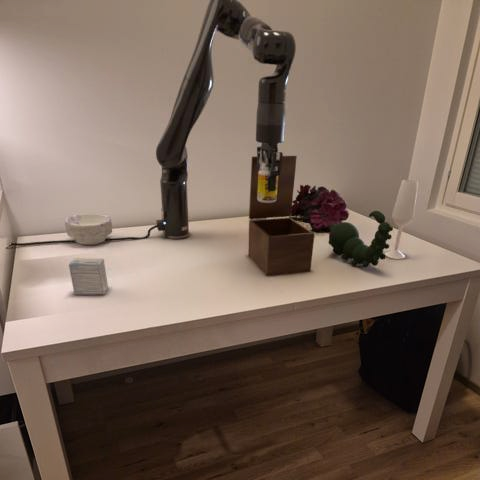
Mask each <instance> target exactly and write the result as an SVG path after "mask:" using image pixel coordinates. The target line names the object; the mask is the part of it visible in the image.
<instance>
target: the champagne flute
mask: <svg viewBox="0 0 480 480" xmlns="http://www.w3.org/2000/svg"><path fill="white" fill-rule="evenodd" d="M418 187H419V181H418V180H413V179H403V180H401V183H400V187H399V190H398V193H397V196H396V200H395V204H394V207H393V210H392V214H391V219H392V221H393V222H394V224H395V225H396V226H397V227H398V229H397V233H396V237H395V243H394V247H393V248H394V249H392V250H389V251H386V252H385V253H384V254H385V255H386V258H390V259H395V260H401V259H402V260H403V259H404V258H406V255H405V254H403V252H401V251H400V250H399V246H400V241H401V238H402V237H401V236H402V232H403V228H404V227H406V226H408V225H409V224H411V222H413V220H414V218H415V214H416V213H415V212H416V204H417V202H416V201H417V196H418Z"/></svg>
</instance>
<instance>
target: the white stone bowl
mask: <svg viewBox="0 0 480 480" xmlns="http://www.w3.org/2000/svg"><path fill="white" fill-rule="evenodd" d="M64 226H65V230H66V231H65V232H66V235H67V236H68V237H70V238H72V239H73V240H75V241H76V242H75V243H77V244H80V245H85V246H92V245H99V244H101V243H103V242H106V241H105V239H108V236H109V235H111V234H112V233H113V223H112V218H111V217H110V216H109V215H106V214H102V213H79V214H74V215H70V216H68V217H66V218H65V220H64Z"/></svg>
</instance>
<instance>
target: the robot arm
mask: <svg viewBox="0 0 480 480" xmlns="http://www.w3.org/2000/svg"><path fill="white" fill-rule="evenodd" d="M216 32H217V33H219V34H221V35H222V36H224V37H226V38H228V39H232V40H235V41H240V43H241V44H242V45H243V46H244V47H245V48H246V49H247V50H248V51H250V52H251V55H252V58H253V60H254V61H255V63H258V64H260V65H265V66H266V65H267V66H275V68H274V71H273V73H272V74H269V75H266V76H265V75H264V76H262V77H260V79H259V81H258V87H257V88H258V90H257V91H258V92H257V107H256V115H255V117H256V120H255V141H256V142H257V143H260V144H261V145H260V146H256V156H257V168H258V169H259V171H260V170H262V169H261V165H262V163H265V167H266V169H267V171H268V185H267V190H268V191H275V190H276V177H277V176H278V175H280V173H281V165H282V157H283V156H284V153H283V152H282V151H279V144H281V143H283V142H284V140H285V130H286V129H285V128H286V97H287V96H286V95H287V85H288V81H289V77H290V73H291V69H292V66H293V63H294V60H295V57H296V52H297V43H296V39H295V36H294V35H293V33H291V32H290V31H286V30H274V29H273V28H272V27H271V26H270V25H269V24H268V23H267V22H265V21H263V20H262V19H260V18H259V17H256V16H252V15H251V13H250V11H248V9H247V8H246V6H245V5H244V4H243V3H242V2H240V1H239V0H209V1H208V4H207V6H206V9H205V12H204V16H203V20H202V22H201V26H200V30H199V33H198V37H197V40H196V43H195V47H194V49H193V52H192V55H191V57H190V60H189V63H188V65H187V68H186V70H185V72H184V75H183V77H182V81H181V82H180V83H181V84H180V86H179V89H178V91H177V95H176V98H175V101H174V104H173V108H172V111H171V113H170V114H171V115H170V118H169V120H168V123H167V125H166V128H165V130H164V132H163V134H162V136H161V137H160V139H159V142H158V144H157V146H156V149H155V158H156V161H157V163H158V164H159V165H160V167H161V175H160V178H159V179H160V180H159V186H160V199H161V209H160V213H161V219H157V220H156V224H155V225H154V226H151V227H150V228H148V230H147V234H146V235H145V236H142V237H137V236H128V237H126V236H125V237H113V238H112V237H111V238H107V239H105V241H104V242H113V241H127V240H135V241H137V240H143V239H148V238H149V237H150V234H151V232H152V231H153V230H155V229H157V231H158V232H162V235H163V237H164V239H172V240H180V239H185V238H189V236H190V227H189V205H188V204H189V203H188V202H189V201H188V178H189V164H188V163H189V160H188V157H189V156H188V149H187V146H186V145H187V142H188V139H189V136H190V134H191V132H192V129H193V128H194V126H195V125H196V123H197V122H198V120H199V118H200V116H202V115H201V114H202V113H203V111H204V109H205V108H206V106H207V104H208V102H209V101H208V100H209V98H210V96H211V93H212V91H213V88H214V81H215V80H214V68H213V56H212V50H213V49H212V48H213V44H214V39H215V35H216ZM277 167H278V170H277ZM270 168H271V169H270ZM10 243H11V245H9V246H8V247H11V246H12V247H13V246H16V247H17V246H18V247H24V246H25V247H26V246H35V245H36V246H37V245H47V244H48V245H49V244H64V243H66V244H67V243H69V244H70V243H77V242H76V241H75V240H74V239H64V240H63V239H61V240H60V239H59V240H44V241H33V242H32V241H31V242H23V243H21V242H10Z"/></svg>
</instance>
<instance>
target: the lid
mask: <svg viewBox="0 0 480 480" xmlns="http://www.w3.org/2000/svg"><path fill="white" fill-rule="evenodd" d="M297 159H298V156H297V155H283V157H282V165H281V173H280V175H278V185H277V199H276V201H275V202H272V203H264V202H260V201H258V200H257V192H258V172H259V169H258V168H257V155H256V156H251V165H250V187H249V206H248V207H249V209H248V210H249V211H248V219H249V220H250V219H259V218H266V219H275V218H289V217H292V216H291V210H292V205H293V202H292V201H294V200H293V198H294V189H295V180H296V170H297ZM277 170H278V167H277Z"/></svg>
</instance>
